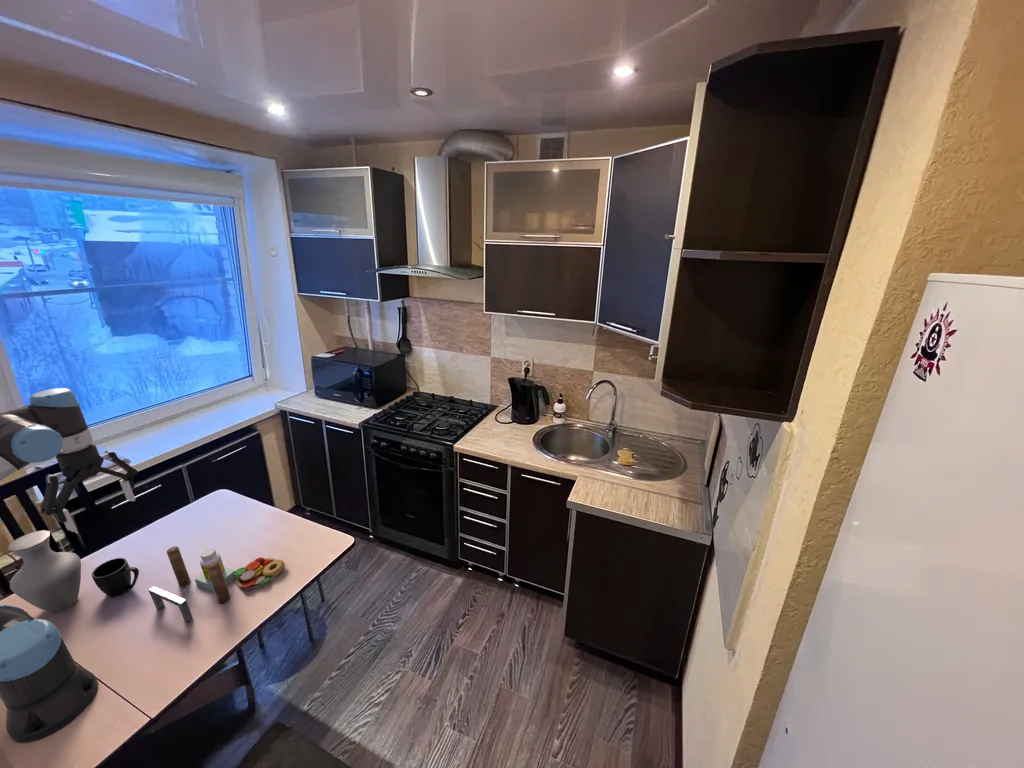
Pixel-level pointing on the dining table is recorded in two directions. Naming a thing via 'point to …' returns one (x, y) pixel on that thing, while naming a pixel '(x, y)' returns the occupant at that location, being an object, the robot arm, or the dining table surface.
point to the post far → (178, 566)
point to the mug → (115, 577)
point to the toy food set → (258, 572)
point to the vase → (45, 573)
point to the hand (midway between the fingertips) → (103, 514)
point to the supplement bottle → (210, 561)
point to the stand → (208, 584)
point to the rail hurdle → (160, 594)
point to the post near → (218, 582)
